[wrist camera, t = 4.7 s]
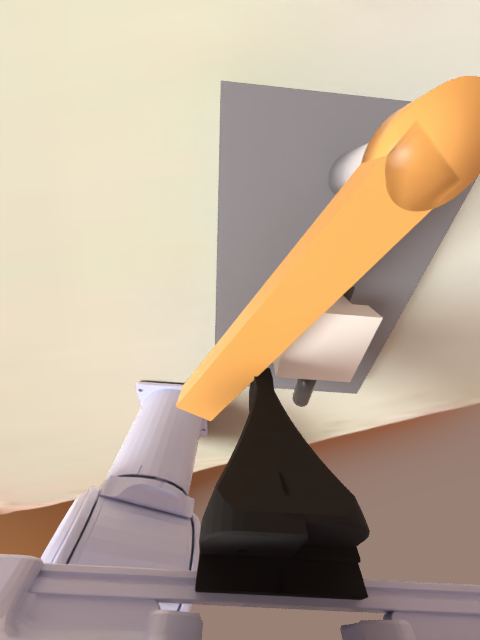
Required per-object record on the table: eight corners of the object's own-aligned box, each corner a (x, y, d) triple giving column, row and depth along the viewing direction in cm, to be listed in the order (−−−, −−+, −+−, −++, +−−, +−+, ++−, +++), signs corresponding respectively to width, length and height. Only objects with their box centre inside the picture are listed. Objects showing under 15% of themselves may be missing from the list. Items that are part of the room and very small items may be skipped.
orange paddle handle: (217, 402, 14) (214, 423, 13) (178, 384, 13) (170, 404, 12) (470, 147, 7) (523, 134, 6) (420, 73, 6) (468, 39, 5)
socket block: (345, 374, 22) (382, 437, 16) (217, 365, 22) (207, 427, 16) (464, 128, 12) (681, 58, 6) (225, 103, 11) (205, 0, 6)
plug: (309, 356, 21) (333, 413, 15) (261, 353, 21) (268, 409, 15) (335, 278, 17) (382, 317, 11) (275, 273, 16) (291, 310, 11)
